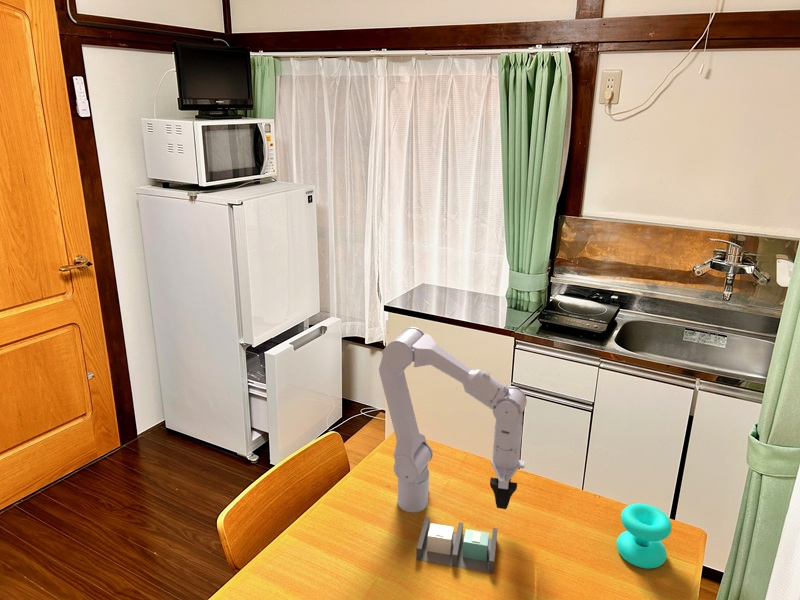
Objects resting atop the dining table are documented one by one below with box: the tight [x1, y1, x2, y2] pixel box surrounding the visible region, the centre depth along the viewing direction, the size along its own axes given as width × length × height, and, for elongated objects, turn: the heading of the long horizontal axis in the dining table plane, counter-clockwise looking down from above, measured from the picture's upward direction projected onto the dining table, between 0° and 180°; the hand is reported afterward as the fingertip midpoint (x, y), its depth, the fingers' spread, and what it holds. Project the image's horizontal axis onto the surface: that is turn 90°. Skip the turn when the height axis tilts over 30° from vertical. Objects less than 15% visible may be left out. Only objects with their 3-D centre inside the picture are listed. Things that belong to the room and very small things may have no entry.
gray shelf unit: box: [415, 516, 498, 574], centre depth 128 cm, size 10×16×4 cm, turn 77°
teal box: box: [463, 528, 490, 561], centre depth 127 cm, size 4×5×4 cm
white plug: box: [427, 522, 455, 555], centre depth 129 cm, size 4×5×4 cm
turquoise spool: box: [616, 503, 673, 570], centre depth 128 cm, size 10×10×10 cm
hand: (502, 496), depth 132 cm, fingers open, 7 cm apart
